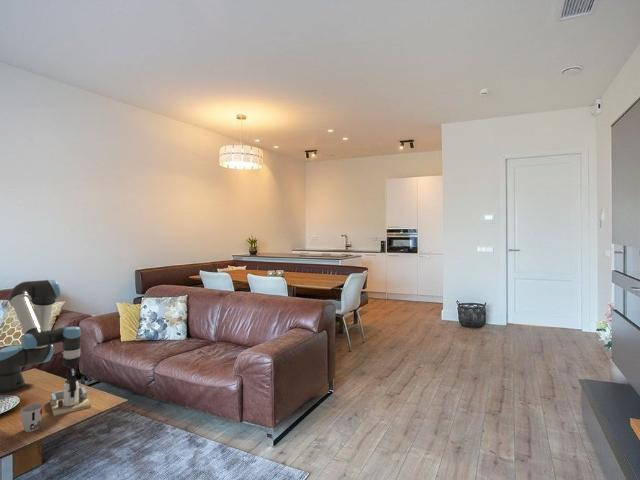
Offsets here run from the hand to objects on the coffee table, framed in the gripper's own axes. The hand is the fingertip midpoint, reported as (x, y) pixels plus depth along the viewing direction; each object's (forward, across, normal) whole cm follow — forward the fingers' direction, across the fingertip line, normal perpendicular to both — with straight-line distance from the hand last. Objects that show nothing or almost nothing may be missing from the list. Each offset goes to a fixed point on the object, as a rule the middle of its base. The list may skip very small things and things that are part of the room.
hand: (71, 400), depth 196 cm
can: (+2, 0, 0) cm, 2 cm away
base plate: (+4, -4, 0) cm, 5 cm away
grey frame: (+2, -8, 0) cm, 9 cm away
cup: (+4, +15, -17) cm, 23 cm away
